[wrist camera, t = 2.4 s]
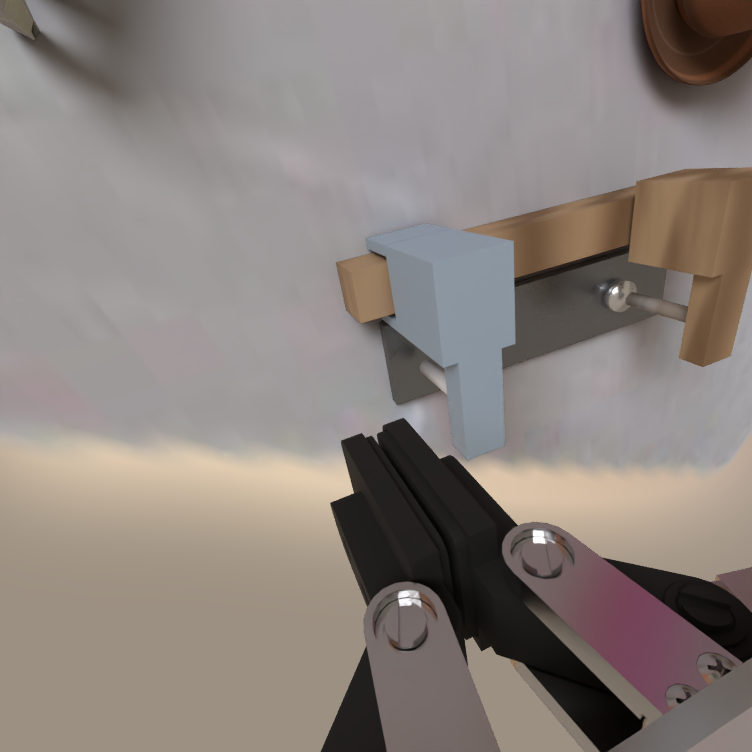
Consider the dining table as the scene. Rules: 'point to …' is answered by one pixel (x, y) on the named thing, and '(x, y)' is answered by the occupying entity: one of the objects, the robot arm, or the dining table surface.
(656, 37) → the cup and saucer
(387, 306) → the beam
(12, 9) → the caliper
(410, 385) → the bolt plate
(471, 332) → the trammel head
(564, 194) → the dining table surface
